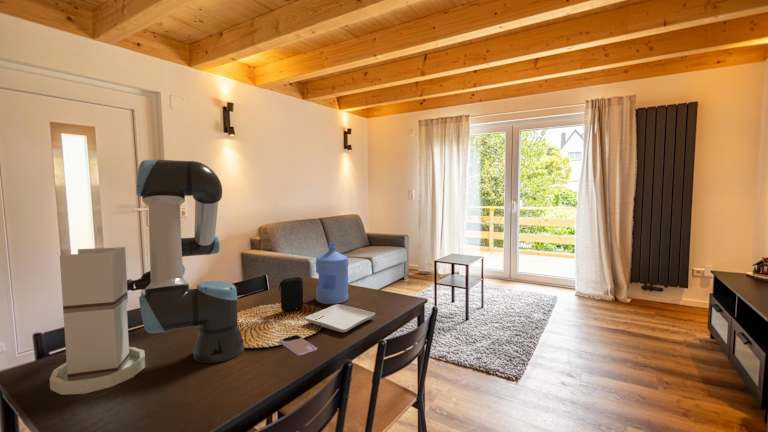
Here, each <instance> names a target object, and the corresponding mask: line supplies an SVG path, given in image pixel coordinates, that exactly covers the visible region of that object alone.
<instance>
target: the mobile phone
mask: <svg viewBox="0 0 768 432" xmlns="http://www.w3.org/2000/svg"><path fill="white" fill-rule="evenodd" d="M278 343H280V344H281V345H282V346H283V347H285V348H286V349H287V350H289V351H290V352H292V353H293V354H295V355H296V356H299V357H300V356H303V355H306V354H310V353H312V352H315V351H317V350H318V347H317V346H315V345H313V343H310V342H309V341H307V340H306V339H305V338H303V337H302V336H300V335H298V334H295V335H291V336H288V337H284V338H281V339H279V340H278Z"/></svg>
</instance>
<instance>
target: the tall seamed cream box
mask: <svg viewBox="0 0 768 432" xmlns="http://www.w3.org/2000/svg"><path fill="white" fill-rule="evenodd" d="M126 258H127V257H126V247H125V246H121V247H120V246H119V247H100V248H99V247H97V248H96V247H95V248H78V249H77V253H75V254H74V253H73V254H72V253H71V254H60V255H59V267H60V269H59V270H60V281H61V282H60V283H61V285H60V286H61V296H62V297H61V298H62V299H61V300H62V312H63V313H62V314H63V327H64V344H65V356H66V358H65V359H66V362H67V375H68V381H75V380H83V379H90V378H97V377H102V376H106V375H110V374H113V373H115V372H117V371H120V370H122V368H123V367H124V366H125V364H126V363H127V362H128V361H129V359H130V358H131V351H129V347H130V341H129V322H128V307H127V305H128V304H127V303H128V302H129V297H128V293H129V292H128V291H127V280H128V277H127V261H126V260H127V259H126Z"/></svg>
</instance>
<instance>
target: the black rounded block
mask: <svg viewBox="0 0 768 432" xmlns="http://www.w3.org/2000/svg"><path fill="white" fill-rule="evenodd" d="M278 291H280V308H281V310H282V311H283V312H292V311H293V312H294V311H298V310H302V308H303V307H304V282H303V278H302V277H299V276H298V277H287V278H283V279H282V280H281V281H280V283H279V284H278ZM301 307H302V308H301ZM296 308H297V309H296Z"/></svg>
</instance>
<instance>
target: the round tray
mask: <svg viewBox="0 0 768 432" xmlns="http://www.w3.org/2000/svg"><path fill="white" fill-rule="evenodd" d="M129 351H131V358H130V359H129V361H128V362H127V363H126V364H125V366H124V367H123V368H122V370H120V371H117V372H115V373H113V374H110V375H106V376H102V377H97V378H90V379H83V380H75V381H68V375H67V361H66V362H64V363H62V364H61V365H59V366H58V367H56V368H54V369H53V371H52V373H51V374H50V377H49V389H50V390H51V391H53V392H55V393H57V394H58V395H61V396H62V395H63V396H64V395H67V396H68V395H83V394H84V395H85V394H88V393H92V392H97V391H100V390H105V389H108V388H113V387H115V386H116V385H117V386H118V385H119V384H121V383H123V382H125V381H128V380H130V379H132V378H134V377H135V376H137V374H139V372H141V371H142V370H144V369H145V368H146V356H145V353H146V351H145V349H141V348H137V347H135V346H129Z"/></svg>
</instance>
